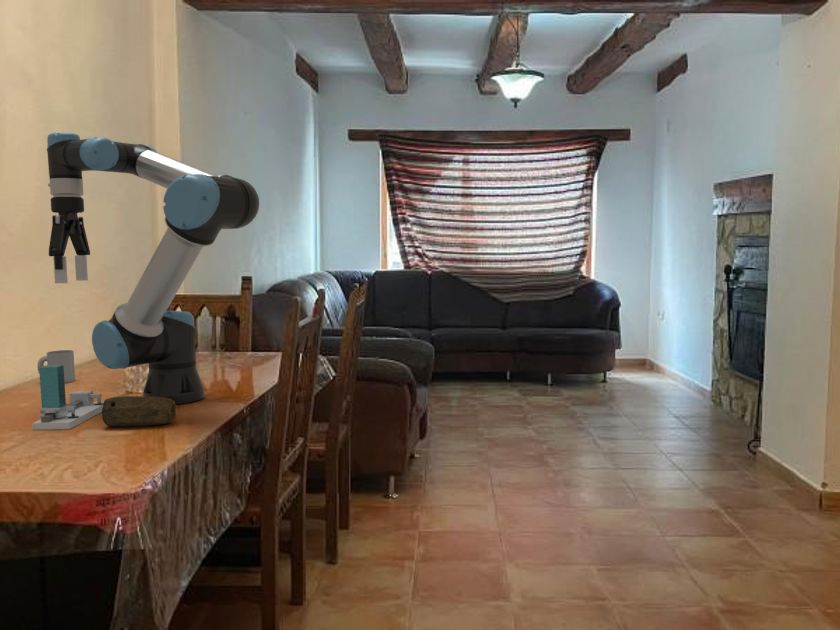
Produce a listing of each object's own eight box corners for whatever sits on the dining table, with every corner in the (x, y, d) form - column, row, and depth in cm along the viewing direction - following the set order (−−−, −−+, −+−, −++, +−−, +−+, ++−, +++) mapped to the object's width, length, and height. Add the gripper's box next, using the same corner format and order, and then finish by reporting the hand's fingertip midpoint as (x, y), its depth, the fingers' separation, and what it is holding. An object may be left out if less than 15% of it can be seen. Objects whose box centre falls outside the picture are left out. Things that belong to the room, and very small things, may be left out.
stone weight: (100, 431, 166) (99, 401, 165) (107, 424, 173) (106, 394, 172) (173, 427, 169) (172, 397, 168) (177, 420, 176) (175, 391, 175)
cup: (72, 383, 226) (70, 352, 225) (35, 385, 223) (33, 354, 222) (77, 378, 233) (75, 349, 232) (41, 380, 230) (39, 351, 229)
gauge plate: (109, 407, 190) (108, 389, 190) (69, 429, 168) (68, 408, 168) (77, 408, 190) (76, 390, 190) (32, 429, 168) (31, 409, 168)
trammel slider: (79, 414, 175) (76, 364, 174) (71, 418, 171) (68, 367, 170) (49, 414, 175) (45, 364, 174) (40, 418, 171) (37, 367, 170)
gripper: (70, 199, 204) (75, 279, 206) (29, 193, 179) (35, 284, 181) (99, 199, 205) (104, 279, 207) (62, 193, 180) (68, 284, 182)
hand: (72, 282), depth 194 cm, fingers open, 13 cm apart
